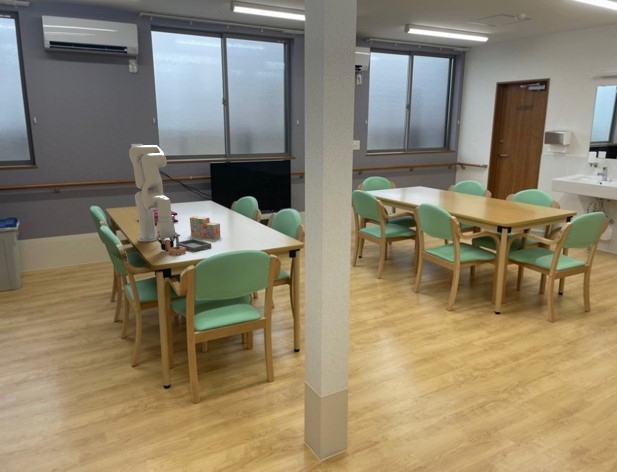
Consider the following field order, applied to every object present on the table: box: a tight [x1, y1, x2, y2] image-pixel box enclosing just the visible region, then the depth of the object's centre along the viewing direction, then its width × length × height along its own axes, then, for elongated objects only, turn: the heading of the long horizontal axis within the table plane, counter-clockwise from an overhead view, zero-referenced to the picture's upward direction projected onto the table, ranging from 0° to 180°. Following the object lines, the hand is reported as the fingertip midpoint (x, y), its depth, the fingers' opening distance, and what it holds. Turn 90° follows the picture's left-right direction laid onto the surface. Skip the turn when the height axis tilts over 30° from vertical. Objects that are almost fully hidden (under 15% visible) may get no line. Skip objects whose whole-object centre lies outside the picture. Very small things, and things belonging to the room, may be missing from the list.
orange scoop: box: [164, 239, 187, 256], centre depth 272 cm, size 15×7×6 cm, turn 49°
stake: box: [174, 233, 181, 249], centre depth 268 cm, size 2×3×11 cm, turn 138°
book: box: [152, 209, 179, 226], centre depth 358 cm, size 21×28×8 cm
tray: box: [179, 238, 212, 252], centre depth 283 cm, size 18×13×2 cm
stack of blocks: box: [189, 215, 221, 240], centre depth 308 cm, size 21×6×12 cm, turn 58°
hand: (167, 248), depth 277 cm, fingers open, 4 cm apart
